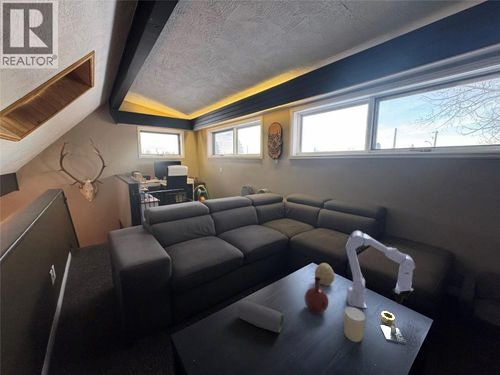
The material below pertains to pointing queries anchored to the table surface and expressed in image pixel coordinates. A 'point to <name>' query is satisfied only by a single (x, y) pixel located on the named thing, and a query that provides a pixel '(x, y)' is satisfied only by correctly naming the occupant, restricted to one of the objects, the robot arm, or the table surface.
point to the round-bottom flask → (316, 298)
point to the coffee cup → (354, 323)
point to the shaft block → (392, 334)
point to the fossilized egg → (324, 274)
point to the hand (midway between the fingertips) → (401, 300)
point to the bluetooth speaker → (260, 316)
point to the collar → (387, 318)
